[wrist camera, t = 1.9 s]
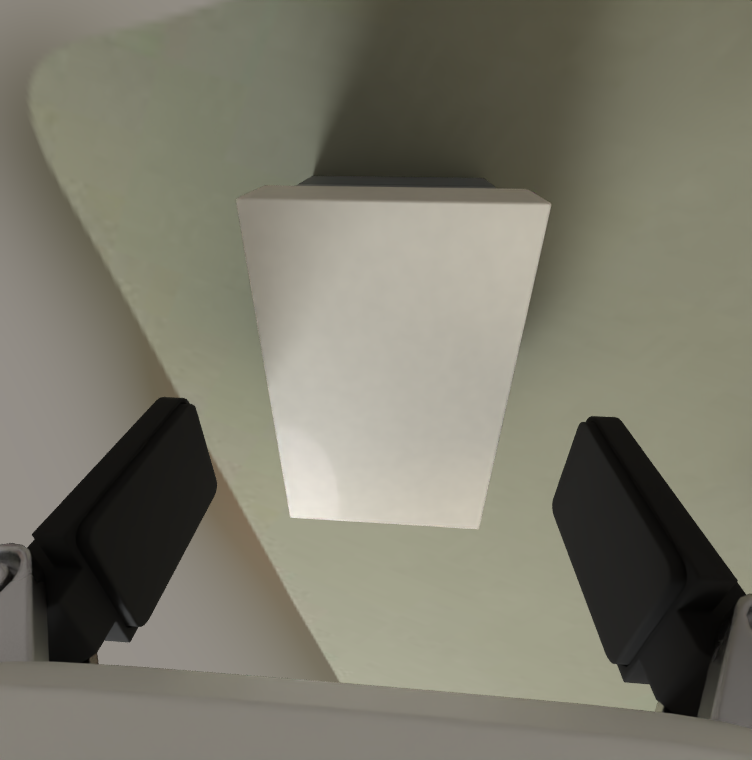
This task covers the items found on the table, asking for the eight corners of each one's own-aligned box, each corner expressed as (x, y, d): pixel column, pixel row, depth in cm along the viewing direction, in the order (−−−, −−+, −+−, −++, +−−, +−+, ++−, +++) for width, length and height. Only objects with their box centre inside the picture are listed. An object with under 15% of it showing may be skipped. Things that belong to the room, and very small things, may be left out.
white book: (263, 184, 10) (234, 197, 9) (528, 188, 10) (553, 202, 8) (302, 475, 16) (289, 518, 14) (471, 485, 15) (479, 529, 14)
